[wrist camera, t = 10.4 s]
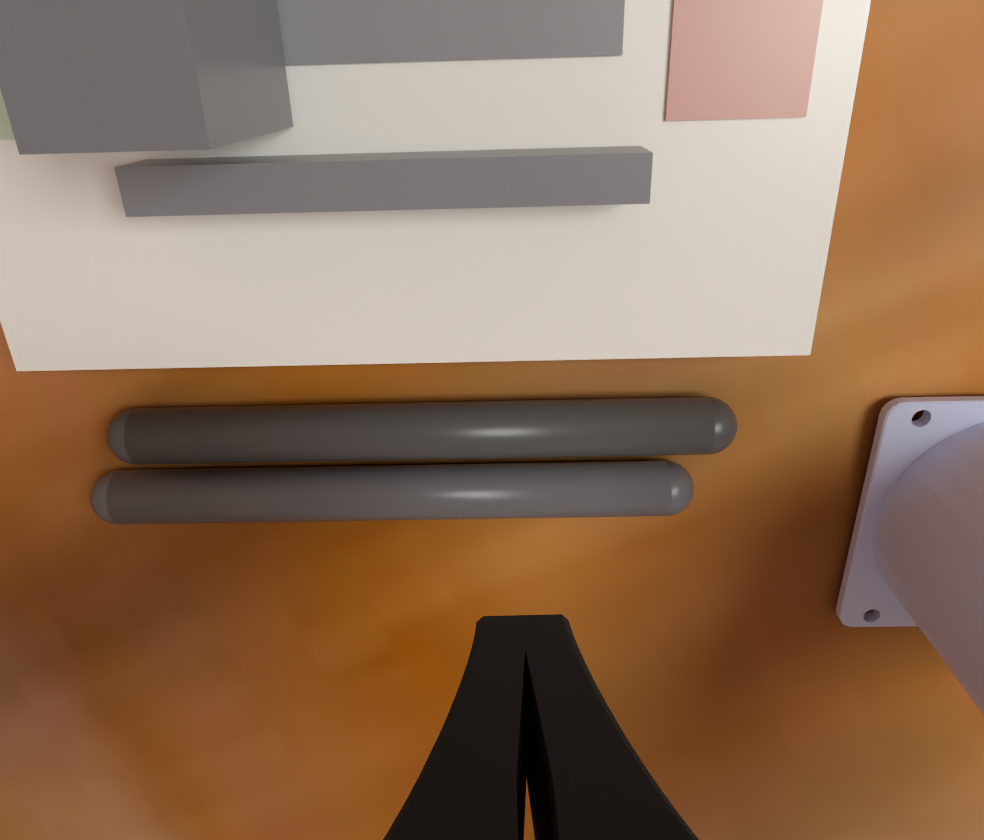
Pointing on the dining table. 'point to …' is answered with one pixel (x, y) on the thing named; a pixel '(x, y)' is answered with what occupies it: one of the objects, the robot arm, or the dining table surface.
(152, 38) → the switch knob
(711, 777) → the dining table surface
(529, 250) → the white board with rails
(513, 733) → the robot arm
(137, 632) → the dining table surface
